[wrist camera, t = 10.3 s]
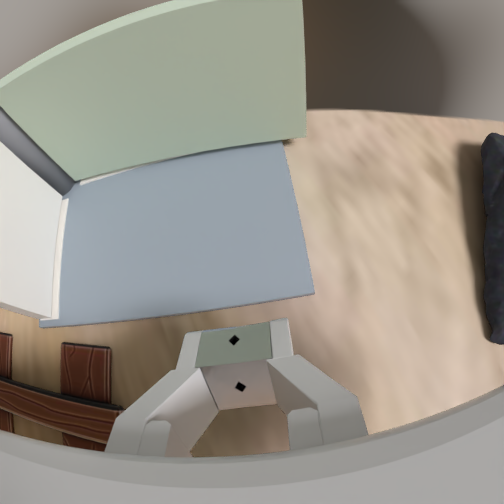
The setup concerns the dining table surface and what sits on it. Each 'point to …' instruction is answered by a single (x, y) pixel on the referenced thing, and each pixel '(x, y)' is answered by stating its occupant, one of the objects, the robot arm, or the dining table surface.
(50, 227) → the fence post and white panel
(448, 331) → the dining table surface
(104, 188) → the card
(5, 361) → the decorative fence
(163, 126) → the green wall panel
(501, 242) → the dark slate chunk
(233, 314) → the dining table surface
